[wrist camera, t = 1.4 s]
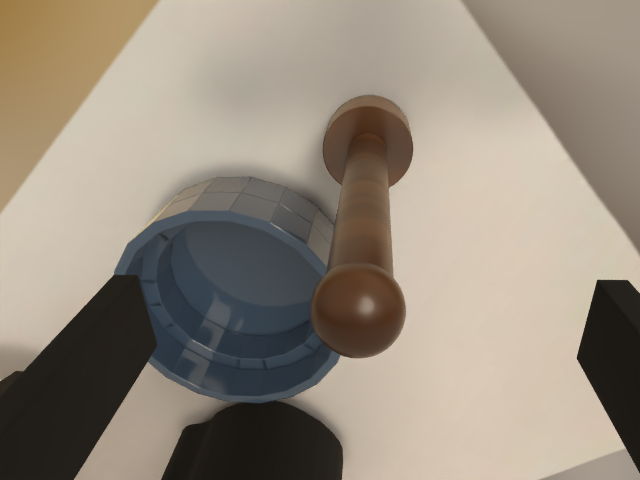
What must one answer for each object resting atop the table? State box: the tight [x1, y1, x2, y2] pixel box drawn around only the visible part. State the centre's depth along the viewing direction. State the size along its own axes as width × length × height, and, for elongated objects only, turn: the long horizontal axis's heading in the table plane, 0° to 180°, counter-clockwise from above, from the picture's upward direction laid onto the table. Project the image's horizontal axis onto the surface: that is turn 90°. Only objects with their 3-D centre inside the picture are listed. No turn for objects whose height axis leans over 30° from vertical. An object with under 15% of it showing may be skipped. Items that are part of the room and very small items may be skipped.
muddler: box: [310, 95, 413, 358], centre depth 21 cm, size 5×5×19 cm
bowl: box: [114, 177, 340, 403], centre depth 32 cm, size 15×15×6 cm
